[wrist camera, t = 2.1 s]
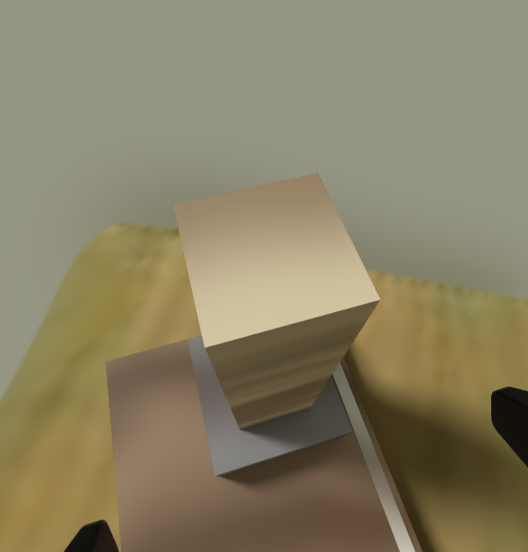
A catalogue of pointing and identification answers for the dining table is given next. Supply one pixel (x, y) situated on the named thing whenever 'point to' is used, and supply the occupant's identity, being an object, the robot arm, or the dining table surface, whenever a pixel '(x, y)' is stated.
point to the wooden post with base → (271, 317)
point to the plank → (241, 475)
